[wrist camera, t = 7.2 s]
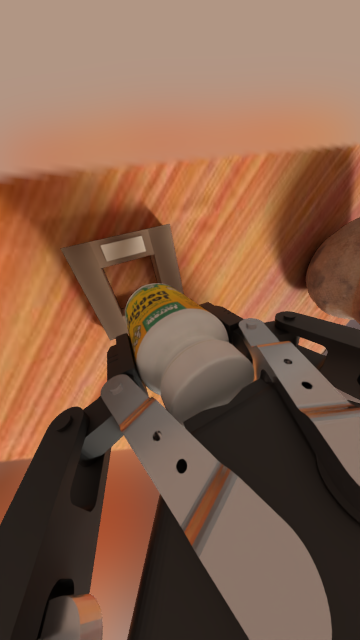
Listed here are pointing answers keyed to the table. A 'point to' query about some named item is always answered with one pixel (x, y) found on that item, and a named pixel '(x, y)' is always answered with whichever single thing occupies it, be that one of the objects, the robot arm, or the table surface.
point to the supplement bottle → (183, 352)
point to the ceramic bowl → (337, 273)
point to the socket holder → (113, 251)
